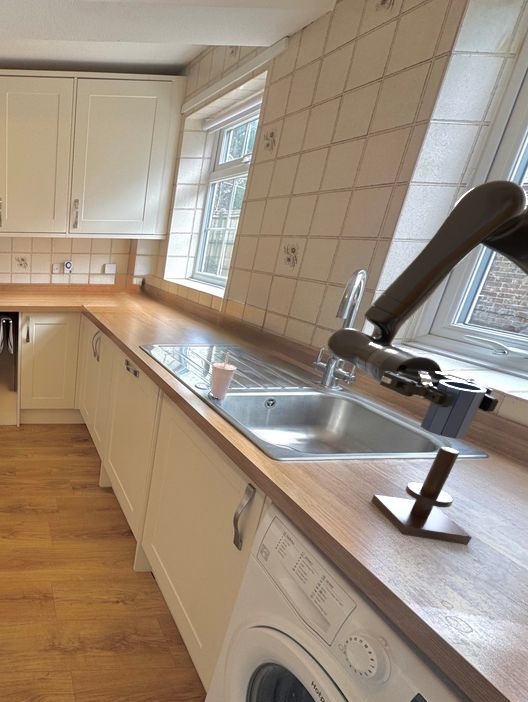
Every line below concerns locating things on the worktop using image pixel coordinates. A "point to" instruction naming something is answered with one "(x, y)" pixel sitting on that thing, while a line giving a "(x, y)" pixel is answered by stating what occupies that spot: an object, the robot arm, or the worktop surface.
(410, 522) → the stand
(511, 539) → the worktop surface
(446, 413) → the blue hollow faceted cylinder
